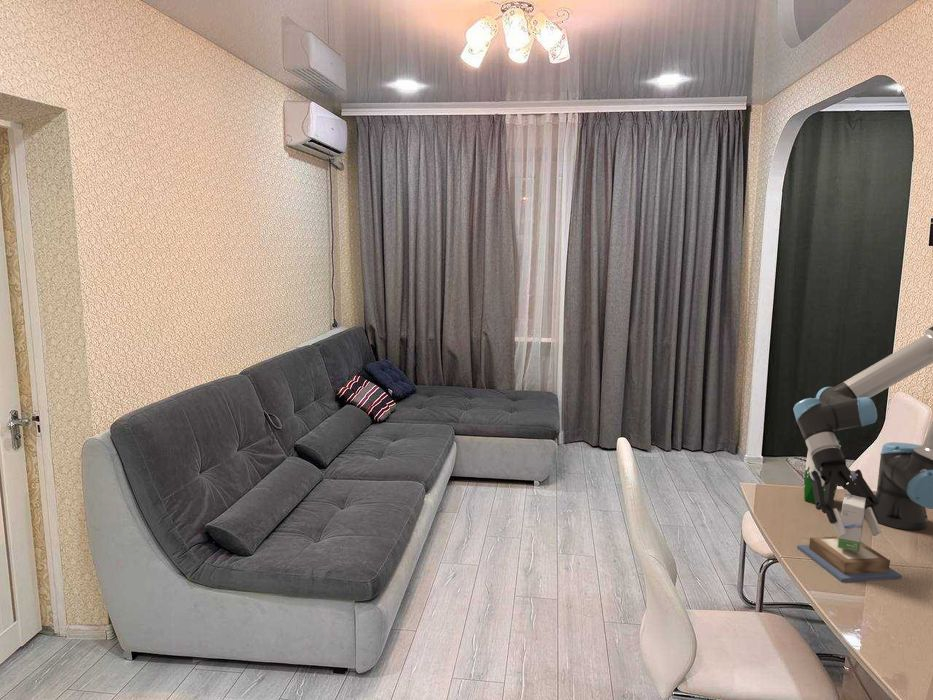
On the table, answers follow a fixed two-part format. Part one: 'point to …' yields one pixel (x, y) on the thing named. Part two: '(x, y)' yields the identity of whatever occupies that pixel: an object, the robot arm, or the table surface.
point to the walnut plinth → (849, 556)
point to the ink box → (852, 522)
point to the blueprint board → (847, 577)
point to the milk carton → (807, 483)
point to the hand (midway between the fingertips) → (859, 534)
